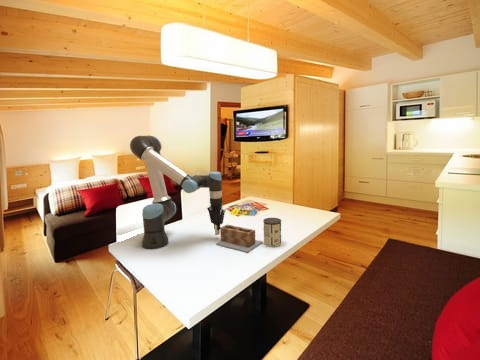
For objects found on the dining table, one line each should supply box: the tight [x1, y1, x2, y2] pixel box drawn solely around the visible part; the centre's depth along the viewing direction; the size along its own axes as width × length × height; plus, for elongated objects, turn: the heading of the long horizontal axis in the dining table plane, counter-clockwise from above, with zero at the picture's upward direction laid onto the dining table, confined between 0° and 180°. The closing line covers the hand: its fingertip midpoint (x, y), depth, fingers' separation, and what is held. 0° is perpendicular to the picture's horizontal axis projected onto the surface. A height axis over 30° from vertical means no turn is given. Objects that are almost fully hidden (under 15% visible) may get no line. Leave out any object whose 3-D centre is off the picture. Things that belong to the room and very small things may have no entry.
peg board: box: [215, 239, 263, 254], centre depth 157 cm, size 22×16×6 cm
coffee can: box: [263, 217, 282, 248], centre depth 156 cm, size 10×10×14 cm
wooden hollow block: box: [219, 224, 256, 248], centre depth 157 cm, size 20×7×8 cm, turn 56°
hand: (217, 234), depth 166 cm, fingers closed
